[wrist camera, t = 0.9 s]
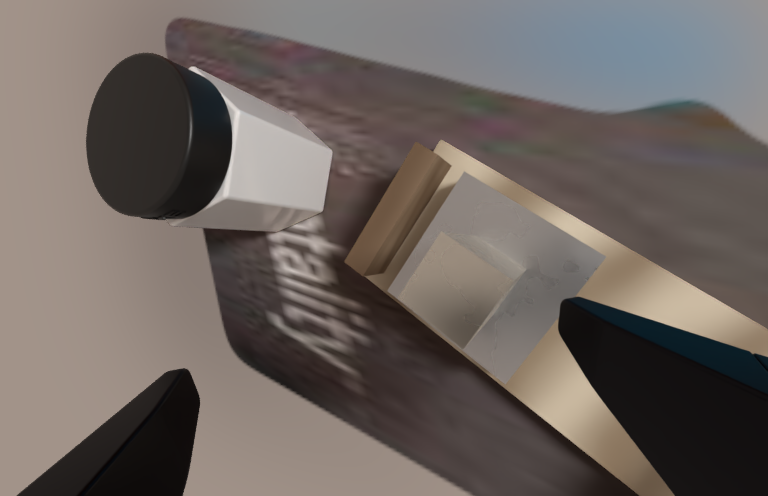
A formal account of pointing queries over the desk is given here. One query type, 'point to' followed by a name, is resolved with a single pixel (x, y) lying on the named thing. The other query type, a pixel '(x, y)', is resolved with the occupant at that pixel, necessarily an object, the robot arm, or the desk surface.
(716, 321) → the base
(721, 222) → the desk surface
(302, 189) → the jar
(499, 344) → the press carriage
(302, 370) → the desk surface
